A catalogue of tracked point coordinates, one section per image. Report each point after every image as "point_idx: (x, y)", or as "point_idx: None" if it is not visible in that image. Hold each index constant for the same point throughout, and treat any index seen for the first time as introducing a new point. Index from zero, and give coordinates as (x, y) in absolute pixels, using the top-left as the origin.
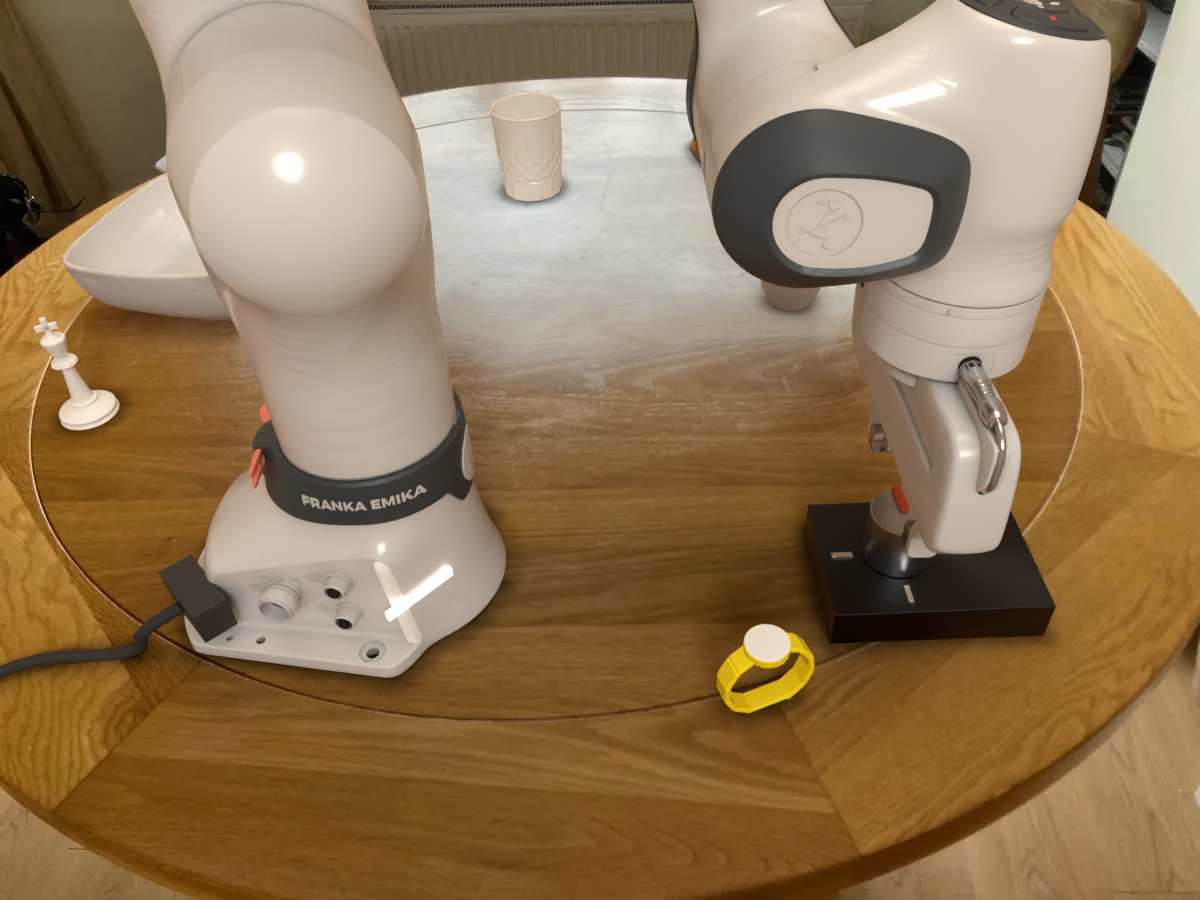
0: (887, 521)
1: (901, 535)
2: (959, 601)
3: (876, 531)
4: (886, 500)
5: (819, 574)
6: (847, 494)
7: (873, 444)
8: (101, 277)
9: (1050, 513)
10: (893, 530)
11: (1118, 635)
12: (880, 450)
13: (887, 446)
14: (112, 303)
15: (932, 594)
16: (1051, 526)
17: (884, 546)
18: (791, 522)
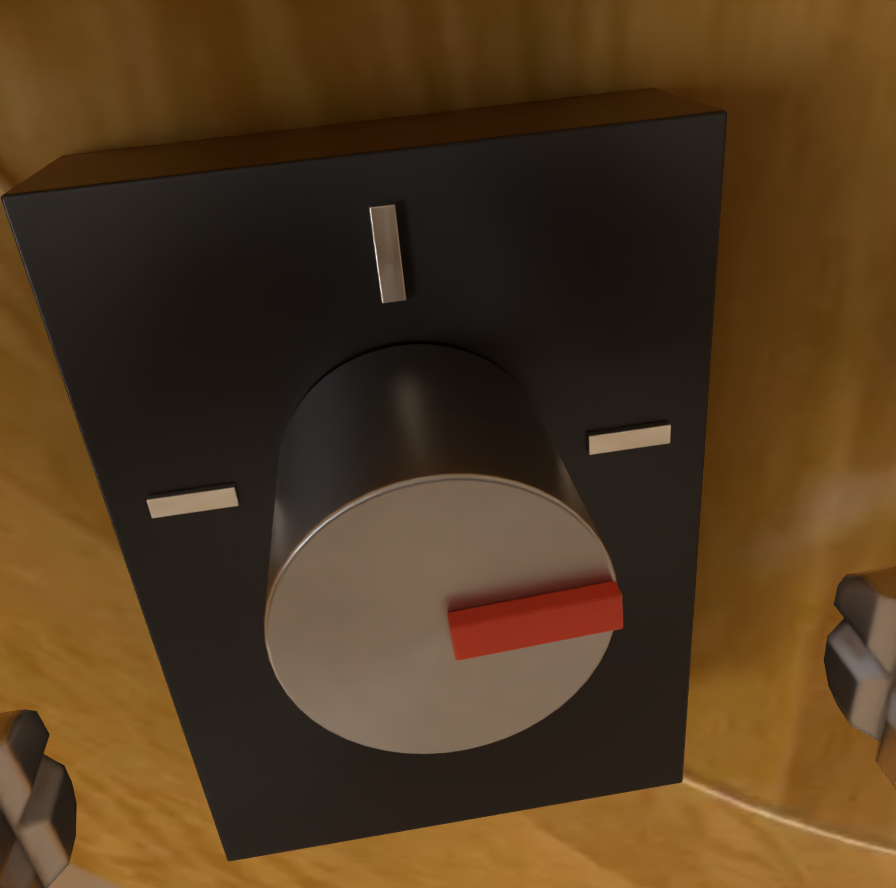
0: (363, 552)
1: (9, 724)
2: (197, 647)
3: (341, 475)
4: (526, 555)
5: (346, 137)
6: (838, 284)
7: (886, 608)
8: None
9: (670, 794)
10: (296, 576)
11: (269, 873)
12: (843, 616)
13: (856, 668)
14: None
15: (214, 573)
16: (624, 793)
17: (295, 484)
18: (723, 34)
